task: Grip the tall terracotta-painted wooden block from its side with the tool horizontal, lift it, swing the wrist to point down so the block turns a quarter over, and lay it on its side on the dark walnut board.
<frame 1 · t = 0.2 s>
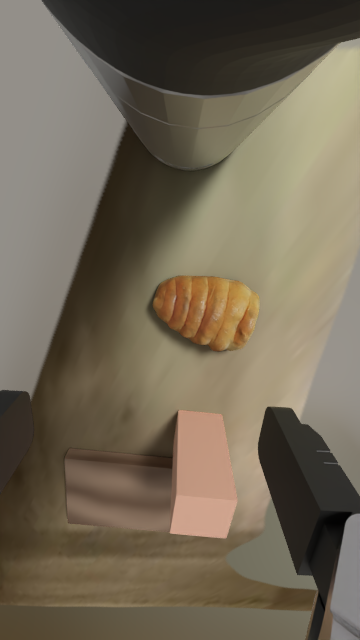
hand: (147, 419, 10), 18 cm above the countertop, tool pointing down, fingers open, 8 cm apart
pastry: (209, 308, 27), on the countertop
tall block: (197, 428, 33), on the countertop
walnut board: (124, 486, 37), on the countertop
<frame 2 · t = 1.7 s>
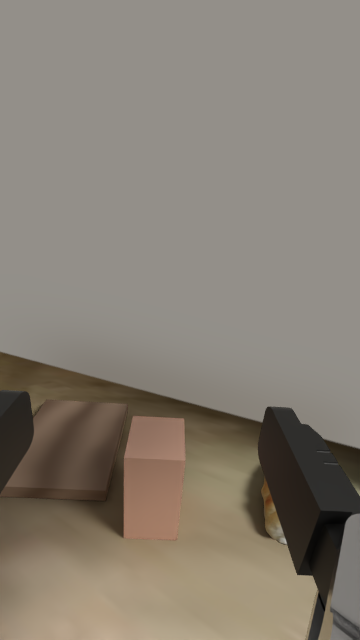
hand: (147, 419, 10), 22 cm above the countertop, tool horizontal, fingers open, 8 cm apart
pastry: (288, 512, 30), on the countertop
tall block: (152, 512, 29), on the countertop
walnut board: (71, 446, 36), on the countertop
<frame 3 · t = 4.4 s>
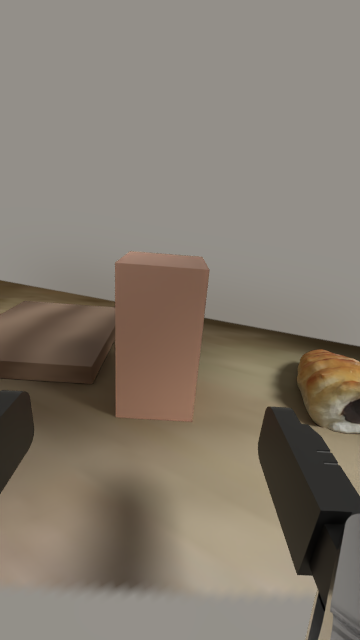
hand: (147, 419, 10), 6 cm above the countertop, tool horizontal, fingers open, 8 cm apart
pastry: (335, 405, 22), on the countertop
tall block: (156, 396, 21), on the countertop
walnut board: (51, 340, 28), on the countertop
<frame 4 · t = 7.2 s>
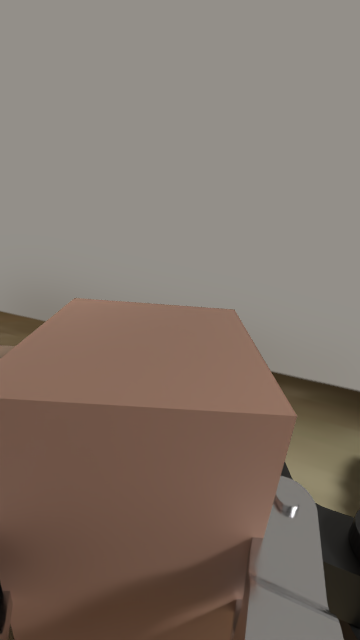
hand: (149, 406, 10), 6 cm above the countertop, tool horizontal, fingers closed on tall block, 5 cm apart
tall block: (136, 593, 10), on the countertop, touching gripper
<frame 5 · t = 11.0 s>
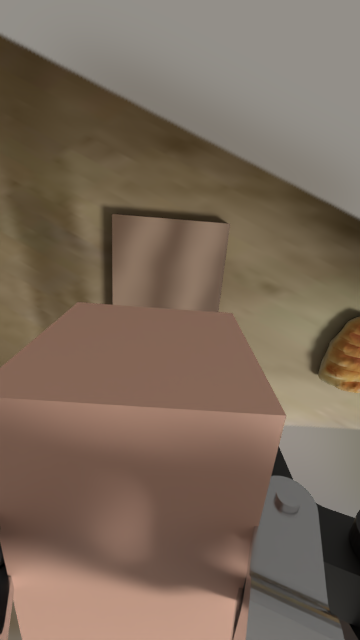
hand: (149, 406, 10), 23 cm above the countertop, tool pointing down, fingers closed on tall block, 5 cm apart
pastry: (344, 352, 36), on the countertop
tall block: (138, 589, 10), point 26 cm above the countertop, tilted 90°, touching gripper
walnut board: (167, 283, 32), on the countertop
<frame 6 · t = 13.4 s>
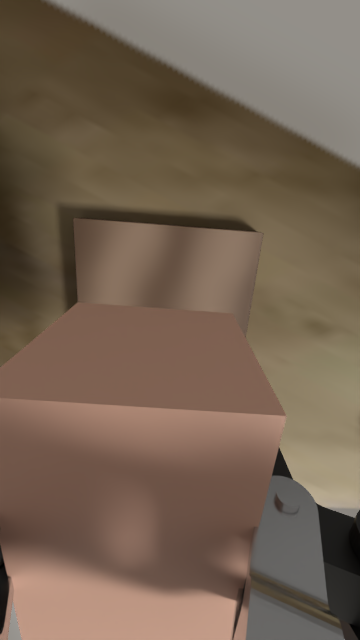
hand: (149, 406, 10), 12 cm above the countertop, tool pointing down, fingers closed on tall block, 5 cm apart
tall block: (137, 590, 10), point 14 cm above the countertop, tilted 90°, touching gripper
walnut board: (164, 320, 22), on the countertop
when the fingers open (4 cm above the countertop, at t = 15.4 s): tall block drops 2 cm, resting on walnut board.
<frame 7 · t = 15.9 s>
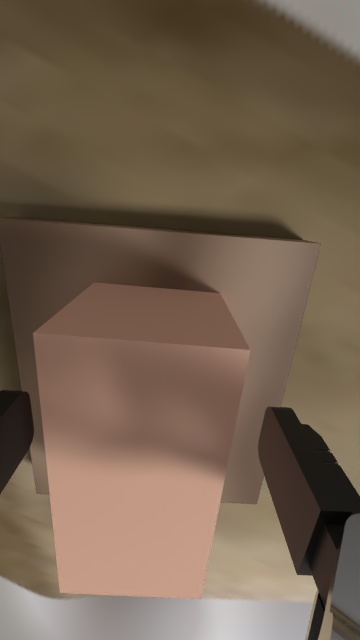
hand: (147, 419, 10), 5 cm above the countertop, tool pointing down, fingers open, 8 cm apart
tall block: (140, 523, 12), point 4 cm above the countertop, tilted 90°, touching walnut board
walnut board: (156, 373, 14), on the countertop
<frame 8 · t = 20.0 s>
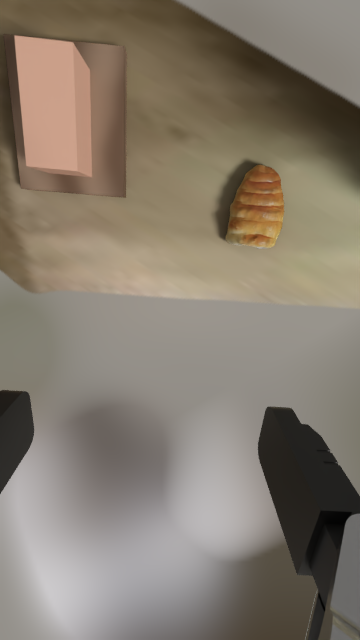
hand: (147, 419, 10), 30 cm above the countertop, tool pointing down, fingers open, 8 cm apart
pastry: (251, 214, 36), on the countertop
tall block: (61, 172, 30), point 4 cm above the countertop, tilted 90°, touching walnut board
walnut board: (73, 126, 32), on the countertop
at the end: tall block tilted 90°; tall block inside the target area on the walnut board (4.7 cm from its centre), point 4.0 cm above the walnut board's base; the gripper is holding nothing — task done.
